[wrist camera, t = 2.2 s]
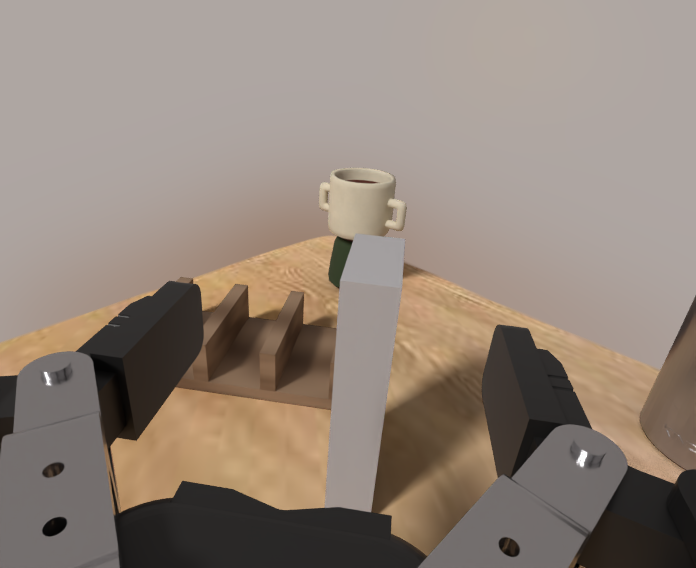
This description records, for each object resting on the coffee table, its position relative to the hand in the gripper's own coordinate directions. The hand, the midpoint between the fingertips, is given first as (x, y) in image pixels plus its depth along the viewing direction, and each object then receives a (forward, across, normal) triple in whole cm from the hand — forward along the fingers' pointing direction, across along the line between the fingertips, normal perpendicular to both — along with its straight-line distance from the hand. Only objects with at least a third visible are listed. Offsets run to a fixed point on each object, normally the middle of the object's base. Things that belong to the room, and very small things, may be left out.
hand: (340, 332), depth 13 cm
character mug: (+39, +3, +18) cm, 43 cm away
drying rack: (+22, +10, +18) cm, 30 cm away
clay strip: (+11, 0, +18) cm, 22 cm away
